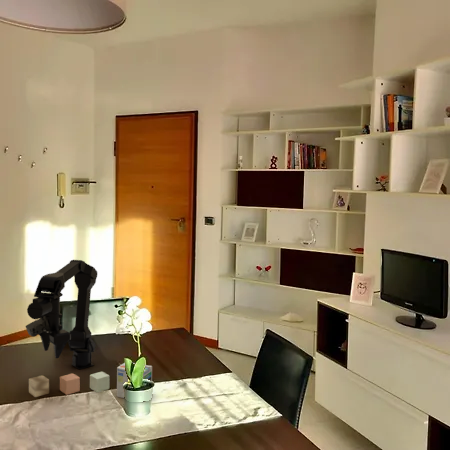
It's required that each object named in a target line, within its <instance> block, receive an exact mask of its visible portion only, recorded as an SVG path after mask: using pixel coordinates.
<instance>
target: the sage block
mask: <svg viewBox="0 0 450 450" xmlns="http://www.w3.org/2000/svg"><path fill="white" fill-rule="evenodd" d="M89 389H91V390H92V391H94V392H95V393H101V392H103V391H107V390H109V389H110V375H109V374H107V373H106V372H104V371H99V372H95V373H92V374H90V375H89Z"/></svg>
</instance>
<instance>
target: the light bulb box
mask: <svg viewBox="0 0 450 450" xmlns="http://www.w3.org/2000/svg"><path fill="white" fill-rule="evenodd" d="M132 363H133V364H135V363H136V362H132ZM144 365H145V369H144V373H143V379H148V380H150V381H152V382H153V366H152V365H147V364H144ZM125 382H128V377H127V374H126V371H125V362H124V363H122V364H120V365H119V366H117V367H116V398H122V399H125V398H124V392H123V384H124V383H125Z"/></svg>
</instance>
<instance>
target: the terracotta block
mask: <svg viewBox="0 0 450 450" xmlns="http://www.w3.org/2000/svg"><path fill="white" fill-rule="evenodd" d="M80 379H81V378H80V376H78V375H77V374H74V373H68V374H66V375H61V376H59V391H60V392H61V393H63V394H65V395H66V396H67V395H71V394H74V393H77V392H80V391H81V390H80V389H81V387H80V385H81V384H80V382H81V381H80Z"/></svg>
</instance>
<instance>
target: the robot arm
mask: <svg viewBox="0 0 450 450" xmlns="http://www.w3.org/2000/svg"><path fill="white" fill-rule="evenodd" d="M73 277H74V284H75V286H76V288H77V300H76V309H75V310H76V312H75V322H74V324H75V325H74V327H73V328H72V329H71V330H70V331H68V330H66V329H63V325H62V324H61V318H63V314H62V313H61V297H62V296H64V295H63V293H62V291H63V290H64V289H65V287H66V285H65V284H66V283H67V282H68V281H69V280H70V279H73ZM97 278H98V271H97V269H96V267H94V266H92V265H90V264H88V263H87V262H86V261H84V260H81V259H72V260H69V262H68V263H67V264H66V265H64V266H63V267H62V268H59V270H57V271H56V272H52V273H51V272H50V273H47V274H45V275H42V276H41V277H40V279H39V281H38V285H37V286H36V289H35V291H34V295H33V298H32V302H31V303H30V304H28V306H27V309H26V312H27V315H28V316H29V318H31V319H32V320H33V321H32V322H30V323H28V324H27V325H25V329H26V331H27V334H28V335H29V336H31V337H32V338H34V337H37V336H39V337H40V340H41V343H42V347H43V350H44V351H46V352H47V351H49V348H50V344H52V345H53V352H54V357H55V359H59V358H60V356H61V354H62V352H63V351H64V348H65V346H66V345H67V344H68V347H69V351H70V352H73V354H72V359H71V360H72V362H71V366H73V367H75V368H76V369H78V370H82V369H85V368H90V367H93V366H95V365H94V363H92V355H93V354H92V353H94V352H95V350H96V345H97V344H96V342H95V341H94V340H93V338H92V331H91V329H90V327H89V315H90V303H91V302H90V301H91V292H92V288H93V287H94V286H95V285H96V282H97Z"/></svg>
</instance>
